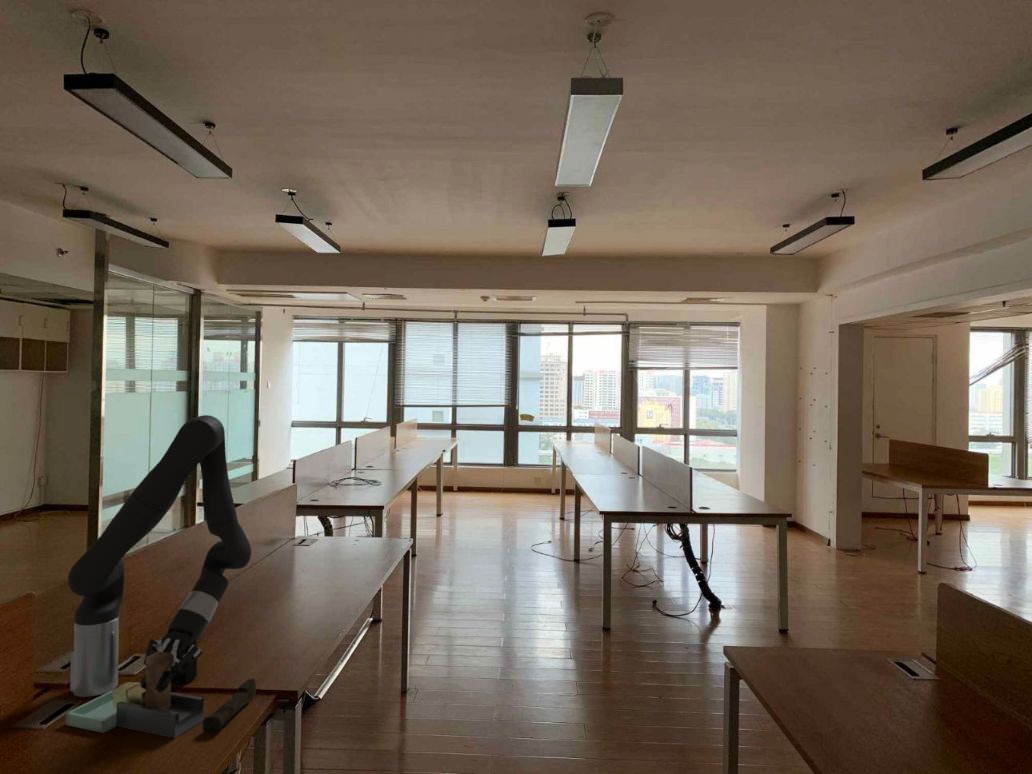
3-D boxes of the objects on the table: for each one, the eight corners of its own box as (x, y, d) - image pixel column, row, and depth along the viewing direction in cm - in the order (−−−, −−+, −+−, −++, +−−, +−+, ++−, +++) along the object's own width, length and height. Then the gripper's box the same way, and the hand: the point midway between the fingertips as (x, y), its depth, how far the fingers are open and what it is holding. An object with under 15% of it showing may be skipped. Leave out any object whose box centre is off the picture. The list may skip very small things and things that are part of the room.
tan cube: (113, 707, 145) (111, 689, 145) (128, 699, 148) (127, 682, 149) (127, 708, 144) (125, 690, 144) (142, 700, 147) (141, 682, 148)
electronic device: (185, 685, 162) (186, 645, 162) (150, 681, 164) (151, 642, 164) (196, 678, 166) (197, 639, 166) (162, 674, 168) (163, 636, 168)
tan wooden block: (139, 712, 142) (140, 657, 142) (157, 702, 147) (158, 649, 147) (155, 715, 141) (156, 660, 141) (172, 705, 145) (173, 652, 145)
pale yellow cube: (127, 708, 144) (127, 690, 144) (142, 700, 147) (142, 683, 147) (141, 711, 142) (141, 693, 142) (156, 703, 146) (156, 685, 146)
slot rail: (116, 726, 142) (116, 703, 142) (146, 709, 150) (147, 687, 150) (174, 738, 137) (175, 714, 137) (203, 720, 145) (203, 697, 145)
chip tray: (65, 724, 142) (65, 713, 142) (120, 696, 156) (120, 685, 156) (103, 733, 139) (104, 721, 139) (157, 703, 152) (157, 692, 152)
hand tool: (218, 736, 139) (219, 714, 139) (201, 734, 140) (202, 713, 140) (265, 695, 158) (266, 676, 158) (250, 694, 158) (250, 675, 158)
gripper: (161, 604, 153) (115, 678, 141) (210, 611, 149) (167, 687, 137) (178, 619, 158) (135, 691, 146) (226, 626, 154) (186, 700, 142)
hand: (151, 689), depth 142 cm, fingers closed on tan wooden block, 3 cm apart
